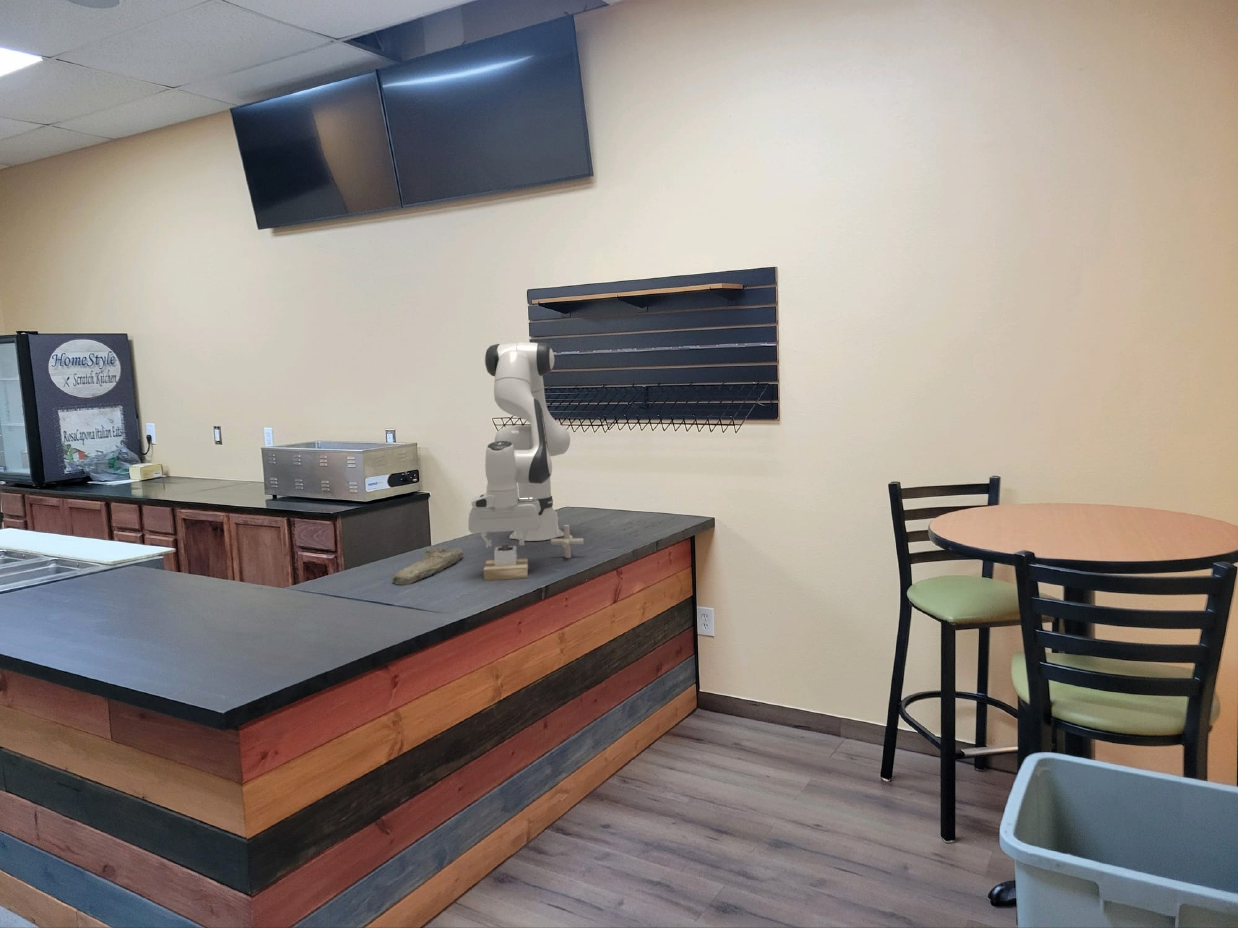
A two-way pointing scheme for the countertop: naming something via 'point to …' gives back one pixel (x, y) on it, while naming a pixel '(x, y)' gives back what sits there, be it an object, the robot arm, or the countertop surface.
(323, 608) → the countertop surface
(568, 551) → the pipe connector
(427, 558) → the long grey stone
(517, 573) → the shaft stand
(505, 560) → the silver square ring
